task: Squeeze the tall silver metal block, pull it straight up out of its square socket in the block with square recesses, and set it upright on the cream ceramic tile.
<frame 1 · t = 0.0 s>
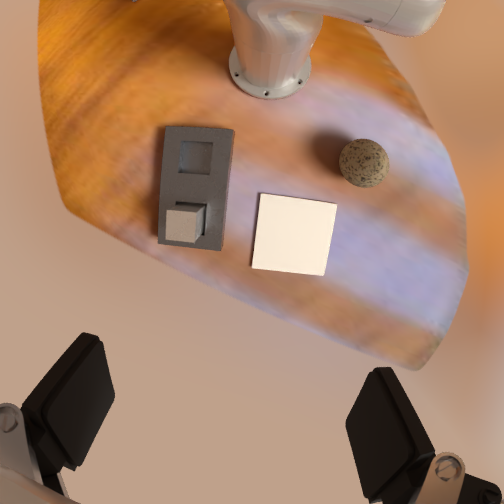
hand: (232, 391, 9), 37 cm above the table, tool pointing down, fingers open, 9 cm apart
steel block: (193, 215, 44), resting on block with square recesses
tile: (293, 235, 45), on the table
decorative egg: (353, 162, 41), on the table
block with square recesses: (196, 186, 43), on the table
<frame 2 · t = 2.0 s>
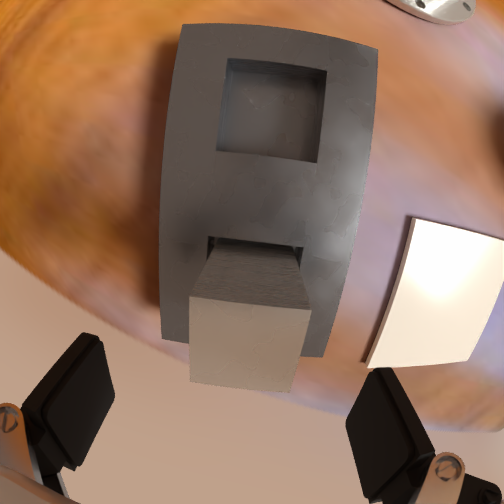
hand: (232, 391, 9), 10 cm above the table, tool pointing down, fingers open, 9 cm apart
steel block: (252, 267, 17), resting on block with square recesses
tile: (448, 302, 18), on the table
block with square recesses: (261, 191, 16), on the table
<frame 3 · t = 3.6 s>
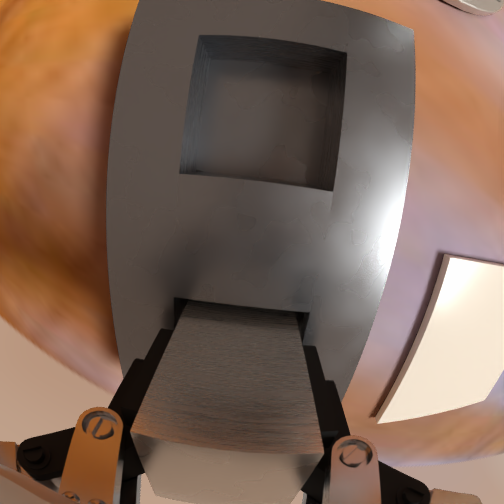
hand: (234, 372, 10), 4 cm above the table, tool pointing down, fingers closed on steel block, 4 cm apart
steel block: (239, 325, 13), point 1 cm above the table, touching gripper, block with square recesses
tile: (472, 346, 14), on the table
block with square recesses: (250, 226, 12), on the table
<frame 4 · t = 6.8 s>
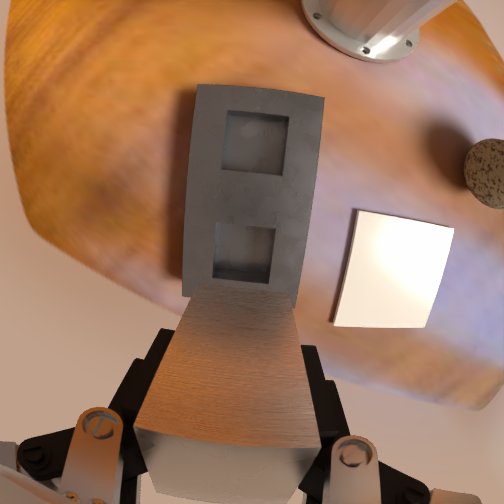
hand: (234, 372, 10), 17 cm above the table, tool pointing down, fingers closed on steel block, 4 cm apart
steel block: (239, 326, 13), point 14 cm above the table, touching gripper
tile: (396, 275, 27), on the table
decorative egg: (470, 170, 23), on the table
block with square recesses: (249, 195, 25), on the table
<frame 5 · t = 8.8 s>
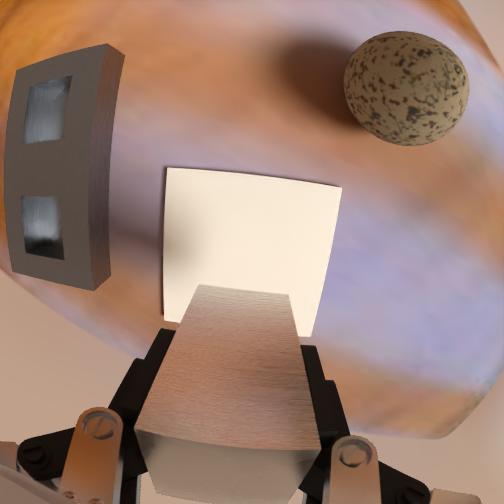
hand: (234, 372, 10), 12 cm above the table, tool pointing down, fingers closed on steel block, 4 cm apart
steel block: (239, 327, 13), point 8 cm above the table, touching gripper
tile: (245, 257, 21), on the table
decorative egg: (374, 101, 17), on the table
block with square recesses: (61, 166, 19), on the table
when the fingers open (5 cm above the table, at t = 10.2 s): steel block drops 1 cm, resting on tile.
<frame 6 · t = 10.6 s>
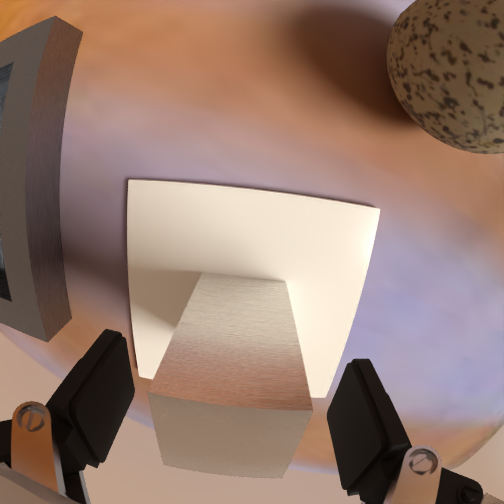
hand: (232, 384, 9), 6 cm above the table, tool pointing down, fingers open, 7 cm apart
steel block: (240, 313, 14), point 1 cm above the table, touching tile
tile: (241, 305, 15), on the table
decorative egg: (418, 89, 11), on the table
block with square recesses: (9, 179, 13), on the table
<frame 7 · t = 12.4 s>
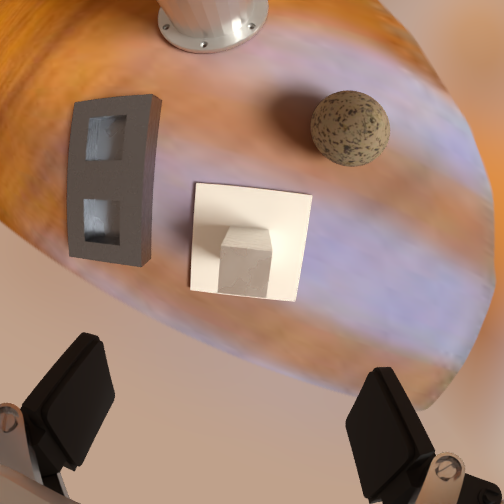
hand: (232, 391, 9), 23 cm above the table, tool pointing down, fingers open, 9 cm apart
steel block: (247, 246, 30), point 1 cm above the table, touching tile
tile: (248, 243, 31), on the table
decorative egg: (336, 134, 27), on the table
block with square recesses: (114, 178, 29), on the table
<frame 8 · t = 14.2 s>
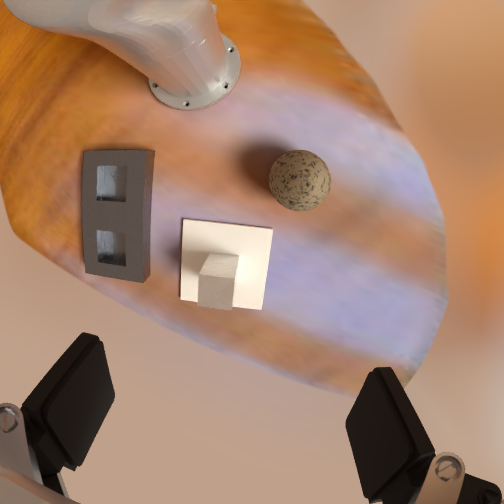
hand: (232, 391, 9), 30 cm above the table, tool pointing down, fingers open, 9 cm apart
steel block: (223, 267, 39), point 1 cm above the table, touching tile
tile: (224, 265, 40), on the table
decorative egg: (294, 178, 36), on the table
block with square recesses: (119, 212, 38), on the table
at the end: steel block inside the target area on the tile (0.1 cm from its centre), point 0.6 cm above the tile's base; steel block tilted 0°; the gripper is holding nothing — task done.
